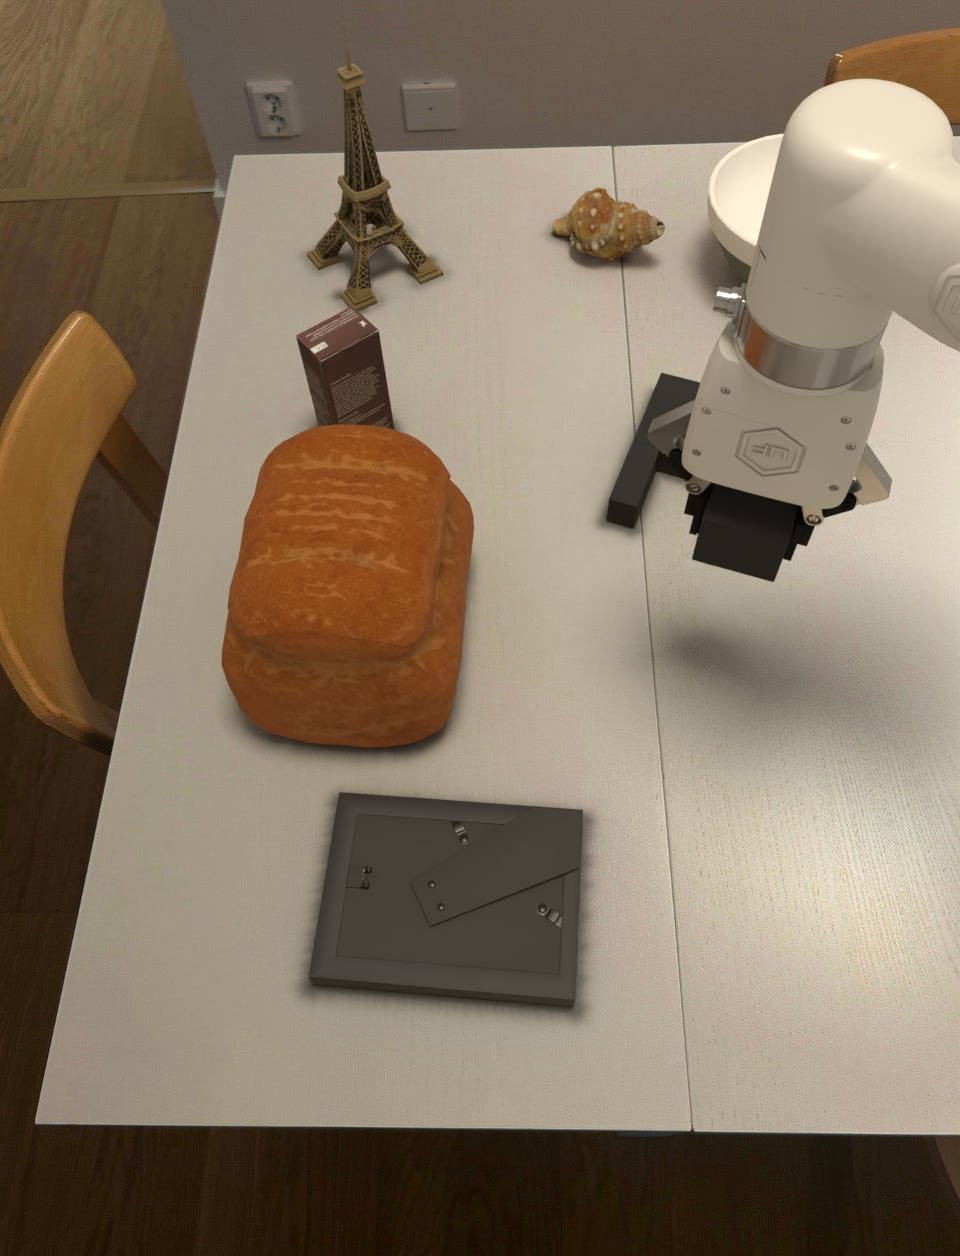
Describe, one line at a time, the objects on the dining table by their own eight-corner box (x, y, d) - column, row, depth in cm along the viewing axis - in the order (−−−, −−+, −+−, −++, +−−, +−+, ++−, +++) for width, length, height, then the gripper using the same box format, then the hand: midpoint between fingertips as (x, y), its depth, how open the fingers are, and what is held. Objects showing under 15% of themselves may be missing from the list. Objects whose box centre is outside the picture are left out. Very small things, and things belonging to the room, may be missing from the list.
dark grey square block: (792, 511, 74) (808, 468, 70) (773, 582, 71) (789, 542, 67) (713, 490, 75) (725, 447, 71) (691, 560, 72) (702, 518, 68)
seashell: (634, 246, 117) (682, 194, 108) (609, 302, 114) (656, 253, 105) (563, 199, 115) (606, 141, 106) (536, 255, 112) (578, 201, 103)
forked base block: (782, 427, 98) (790, 404, 96) (741, 559, 90) (748, 538, 88) (657, 395, 101) (661, 372, 98) (606, 520, 93) (608, 498, 90)
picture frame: (581, 819, 78) (342, 802, 79) (583, 807, 76) (338, 789, 77) (574, 1006, 71) (312, 984, 72) (576, 999, 69) (306, 976, 70)
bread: (232, 743, 82) (174, 627, 68) (284, 524, 93) (244, 384, 79) (457, 760, 81) (446, 645, 67) (482, 535, 92) (477, 396, 78)
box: (369, 403, 101) (353, 302, 91) (395, 430, 99) (383, 331, 89) (315, 432, 99) (293, 333, 89) (341, 461, 97) (322, 363, 87)
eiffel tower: (393, 219, 115) (368, -22, 94) (443, 274, 110) (428, 32, 89) (307, 255, 112) (260, 14, 91) (353, 312, 108) (316, 72, 86)
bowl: (828, 198, 116) (853, 115, 108) (923, 314, 106) (958, 232, 98) (663, 237, 113) (675, 156, 105) (745, 361, 103) (765, 281, 95)
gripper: (635, 337, 57) (607, 539, 72) (964, 415, 54) (861, 610, 69) (671, 249, 61) (637, 460, 76) (981, 317, 57) (880, 523, 73)
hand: (744, 529), depth 72 cm, fingers closed on dark grey square block, 5 cm apart
